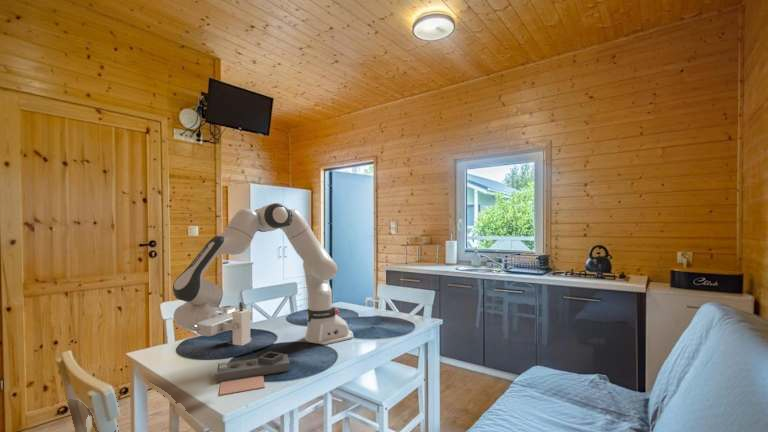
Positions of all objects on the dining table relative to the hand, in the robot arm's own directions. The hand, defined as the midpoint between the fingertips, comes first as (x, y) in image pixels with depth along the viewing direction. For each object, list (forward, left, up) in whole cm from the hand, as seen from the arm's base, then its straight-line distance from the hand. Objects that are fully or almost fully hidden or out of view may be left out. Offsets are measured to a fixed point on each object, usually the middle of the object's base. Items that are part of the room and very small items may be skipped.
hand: (243, 324), depth 124 cm
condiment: (+2, -47, -21) cm, 52 cm away
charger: (+1, -1, -6) cm, 7 cm away
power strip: (-3, -11, -21) cm, 24 cm away
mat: (+1, -1, -21) cm, 21 cm away
